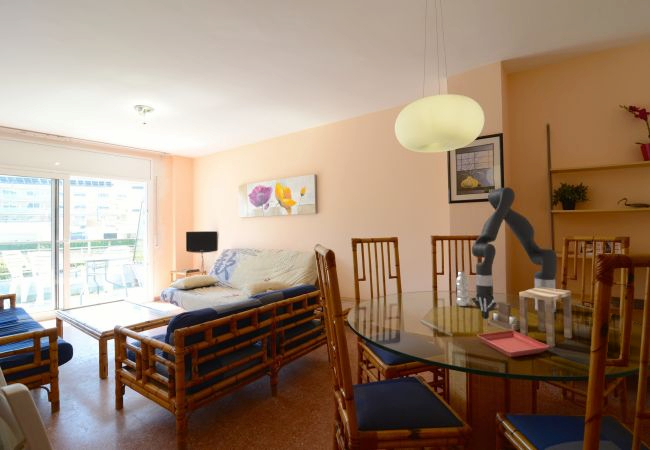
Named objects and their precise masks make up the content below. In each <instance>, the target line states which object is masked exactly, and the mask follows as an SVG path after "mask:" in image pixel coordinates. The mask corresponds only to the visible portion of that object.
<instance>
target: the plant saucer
mask: <svg viewBox="0 0 650 450" xmlns="http://www.w3.org/2000/svg"><path fill="white" fill-rule="evenodd" d="M476 336H477V337H478V339H479V340H480V341H481V342H482V344H485V345H487V346H489V347H490V348H492V349H493V350H495V351H498V352H499V353H501V354H503V355H505V356H507V357H509V358H514V357H520V356H526V355H535V354H541V353H544V352H545V351H546V350H548V349H549V348H550V346H548V345H547V343H546V344H545V343H543V342H542V341H538V340H536V339H535V338H532V337H530V336H528V337H527V336H525V335H523V334H520V332H518V331H513V330H510V331H508V330H503V331H497V332H496V331H495V332H487V333H478V334H477V335H476Z"/></svg>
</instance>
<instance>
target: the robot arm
mask: <svg viewBox="0 0 650 450" xmlns="http://www.w3.org/2000/svg"><path fill="white" fill-rule="evenodd" d="M515 194H516V193H515V191H514V190H513V188H511V187H508V186H506V187H500V188H497V189H494V190H491V191H489V192H488V195H487V200H488V202H489V204H490V205H491V206H492V208H493V209H494V211H493V213H492V214H491V215H490V216H489V217H488V219H486V221H485V222H484V224H483V228H482V230H481V233H480V235H479V236H478V238H477V239H476V240H475V241H474V243H473V245H472V247H471V254H472V255H473V256H474V257H475V258H476V257H477V258H483V259H484V260H483V261H481V262H477V263H476V264H475V271H476V272H475V273H476V276H475V291H476V295H475V296H474V297H472V298H471V300H472V301H473V303H474V305H475V306H476V307H477V309H478V310H480V311H481V318H482V319H483V320H488V319H489V318H490V312H492V311H493V310H494V309H495V308H496V307H497V306H499V301H496V300H495V297H494V278H493V264H494V260H495V257H496V247H495V246H494V245H493V244H491V243H493V242H495V241H496V239H497V237H498V233H499V231H500V228H501V227H502V223H503V221H504V222H505V224H507V226H508V227H509V229H510V231H512V233H513V235H514V236H515V237H516V238H517V240H518V241H519V242H520V244H521V245H522V247H523V249H524V250H525V252H526V254H527V256H528V258H529V260H530V261H531V263H533V264H534V265H537V266H541V270H540V271H536V272H535V273H534V276H533V277H534V288H537V287H545V288H552V289H556V275H557V273H558V272H557V271H558V264H557V263H558V256H557V253H556V252H555V251H554V250H553V249H550V248H541V247H540V246H538V244H537V243H536V242H535V229H534V226H533V225H532V224H531V222H530V221H529V219H528V218H527V217H525V216H524V215H522V214H520V213H519V212H517V211H515V210H514V209H512V208H511V207H512V206H513V203H514V202H515V197H516V195H515ZM556 304H557V300H554V313H555V312H557V305H556ZM534 309H535V311H538V299H535V298H534ZM545 313H546V300H545Z"/></svg>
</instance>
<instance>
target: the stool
mask: <svg viewBox="0 0 650 450" xmlns="http://www.w3.org/2000/svg"><path fill="white" fill-rule="evenodd" d="M518 293H519V295H518V296H519V299H518V300H519V321H520V330H519V333H520V334H523V335H525V336H527V337H529V331H528V330H529V328H528V326H529V325H528V298H530V299H534V300H535V299H538V310H537V324H538V325H537V327H538V330H539V331H538V332H542V333H544V332H546V333H545V334H546V336H545V337H546V345H548V346H549V347H551V348H554V347H556V341H555V339H556V338H555V334H556V333H555V312H554V300H556V301H557V300H559V299H562V298H563V299H562V301H563V302H562V303H563V305H562V306H563V337H564V338H566V339H572V338H573V329H572V327H573V325H572V324H573V323H572V321H573V320H572V291H571V290H566V289H559V288H558V289H557V288H555V289H552V288H545V287H537V288H535V287H533V288H529V289H527V290H523V291H519V292H518ZM545 300H546V312H545Z"/></svg>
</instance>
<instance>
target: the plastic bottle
mask: <svg viewBox="0 0 650 450" xmlns="http://www.w3.org/2000/svg"><path fill="white" fill-rule="evenodd" d="M455 284H456V285H455V286H456V290H457V291H456V293H457V294H456V304H457V306H460V307H468V306H469V304H470V300H469V296H468V295H469V294H468V285H469V280H468V278H467V277H466V271H463V270H462V271H461V270H460V271H458V273H457V277H456V279H455Z"/></svg>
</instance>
